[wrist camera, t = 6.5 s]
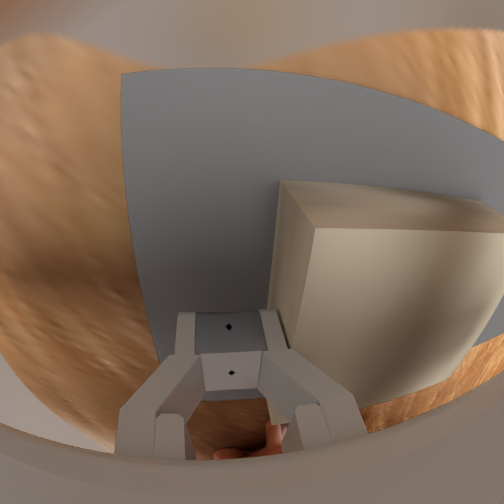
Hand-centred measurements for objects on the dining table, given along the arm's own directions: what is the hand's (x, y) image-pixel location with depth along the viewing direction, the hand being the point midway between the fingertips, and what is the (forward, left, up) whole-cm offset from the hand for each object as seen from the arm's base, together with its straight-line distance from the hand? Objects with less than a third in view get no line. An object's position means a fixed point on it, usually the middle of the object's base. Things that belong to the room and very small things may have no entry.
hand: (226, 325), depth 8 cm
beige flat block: (-6, 0, -1) cm, 6 cm away
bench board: (-12, 0, -3) cm, 12 cm away
